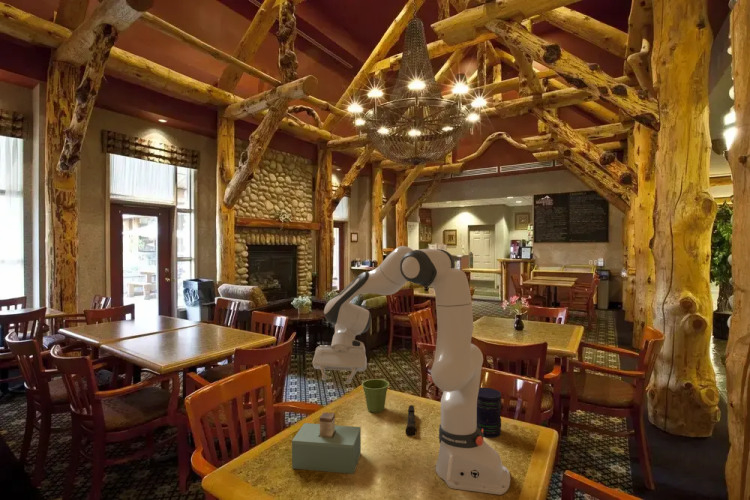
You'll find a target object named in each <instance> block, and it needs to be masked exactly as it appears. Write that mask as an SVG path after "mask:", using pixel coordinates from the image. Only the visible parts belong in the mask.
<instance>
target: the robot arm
mask: <svg viewBox="0 0 750 500" xmlns="http://www.w3.org/2000/svg"><path fill="white" fill-rule="evenodd" d="M455 267H456V262H455V259H454V257H453V255H452V254H451V253H450V252H449V251H447V250H443V249H432V248H422V249H412V248H411V247H408V246H405V245H400V246H398V247H396V248H395V249H394V250H392V251H391V252H390V253H389V254H388V255H387V256H386V257H385V258H384V259H383V261H382V262H381V263H380V264H379V266H377V267H376V268H374V269H371V270H369V271H365V272H364V271H363V272H362V273H360V274H359V275H358V276H356V277H355V278H354V279H353V280H352V281H351V282H349V283H348V284H347V285H346V286H345V287H344V288H343V289H342V290H341V291H340V292H339V293H338V294H336V295H335V296H333V297H331V298H330V299H329V300H328V302H326V304H325V306H324V309H323V315H324V318H325V320H326V322H327V323H330V324H332V325H334V334H333V336H332V340H331V344H329V345H327V344H326V345H324V344H321V345H319V346H317V347H316V348H315V351H314V355H313V359H312V366H313V368H314V369H315V370H320V372H321V381H327V378H328V375H327V374H326V370H328V371H346V372H347V371H349V372H350V374H348V375H347V376H346V377H347V378H346V381H347V382H350V383H351V382H353V378H354V377H355V375H356V374H357V372H365V371H366V370H367V365H368V364H367V361H368V360H367V356H366V347H365V343H364V342H362V341H361V340H357V339H356V336H359V335H362V334H364V333H366V332H367V331H368V330H369V329H370V327H371V324H372V314H371V312H370V310H368V309H366V308H364V307H362V306H359V305H357V304H354V303H353V302H352V301H353V300H354V299H355V298H356V297H357V296H359V295H362V294H375V295H381V296H390V295H394V294H396V293H398V292H399V291H400V290H401V289H402V288H403V287H404V285H406V283H407V282H410V283H413V284H416V285H419V286H423V287H425V288H427V287H429V286H431V287H432V288H433V291H434V295H435V296H434V297H435V310H436V322H437V334H436V343H435V353H434V360H433V363H432V366H431V368H430V377H431V379H432V381H433V383H434V386H436V387H437V388H438V389H440V390H441V391H442V396H441V398H440V424H439V426H438V427H439V428H438V440H439V450H438V457H437V461H436V464H435V469H434V470H435V472H436V474H437V476H438V477H439V478H441V479H442V480H443V481H444V482H445V483H446V484H447V486H448V487H449V488H450V489H455V490H462V491H469V492H476V493H484V494H491V495H492V494H493V495H503V494H505V493H507V491H508V490H509V488H510V486H511V474H510V471H509V469H508V468H507V467H506V466H504V465H503V463H502V459H501V456H500V453H499V452H498V451H497V450H496V449H494V448H493V447H492V446H490V445H489V443H488V442H486V441H485V440H484V437H483V428H482V431H481V430H480V429H479V428H478V427H477V398H478V392H479V388H480V383H481V375H482V366H483V363H484V355H483V353H482V351H481V349H480V348H479V347H478V345H475V344H474V343H472V336H473V333H474V317H473V316H474V315H473V304H472V295H471V289H470V285H469V281H468V276H467V274H466V272H464V271H462V270H461V269H459V268H455Z"/></svg>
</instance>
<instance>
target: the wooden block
mask: <svg viewBox="0 0 750 500" xmlns="http://www.w3.org/2000/svg"><path fill="white" fill-rule="evenodd" d="M335 416H336V413H334V412H322V414H321V415H320V416H319V424H320V437H327V438H333V437H334V435H335V425H336V420H335V418H336V417H335Z"/></svg>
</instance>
